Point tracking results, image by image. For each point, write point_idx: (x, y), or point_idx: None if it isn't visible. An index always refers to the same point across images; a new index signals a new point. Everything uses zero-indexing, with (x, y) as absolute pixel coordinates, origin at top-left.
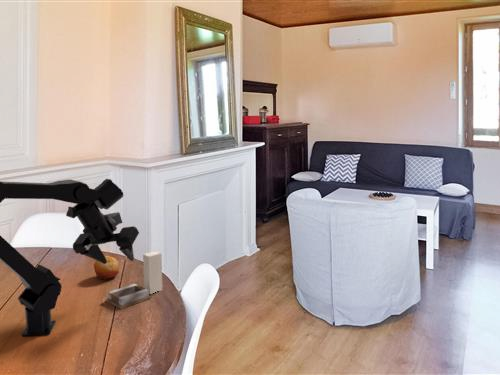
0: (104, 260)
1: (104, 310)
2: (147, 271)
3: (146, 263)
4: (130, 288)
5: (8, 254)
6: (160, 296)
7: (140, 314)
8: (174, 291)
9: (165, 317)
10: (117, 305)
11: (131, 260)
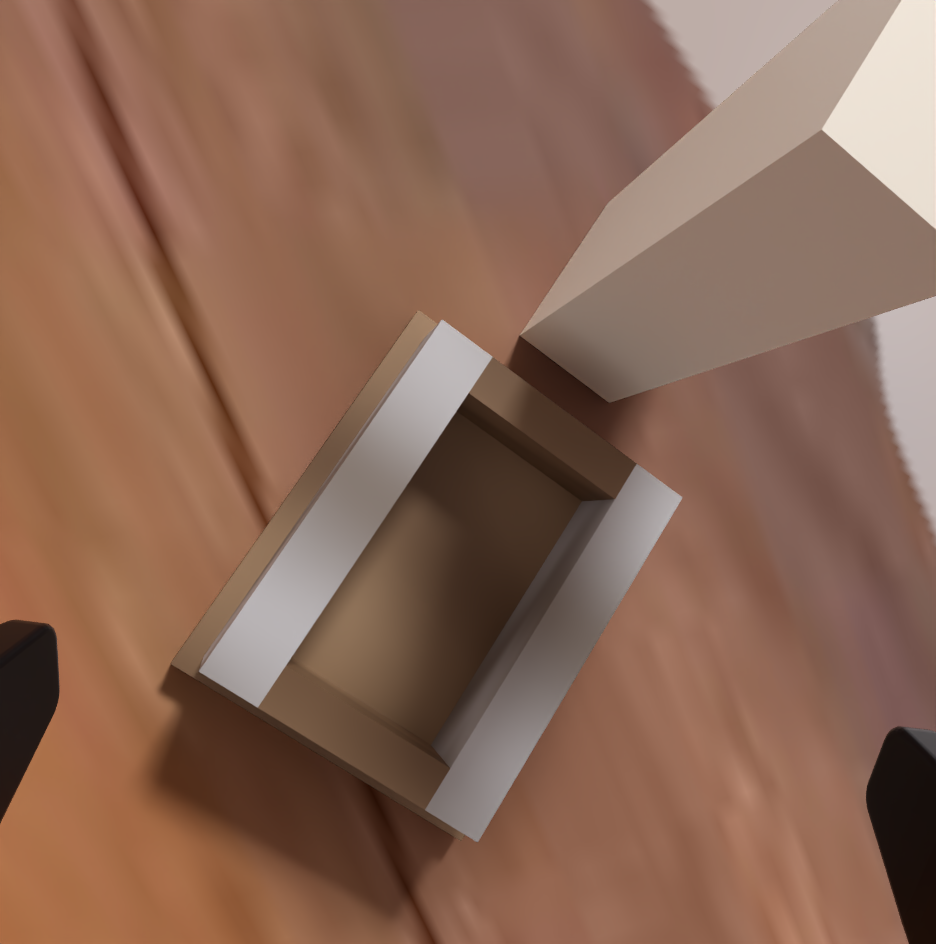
0: (8, 742)
1: (286, 919)
2: (729, 319)
3: (793, 266)
4: (425, 452)
5: None
6: (728, 427)
7: (700, 886)
8: None
9: None
10: (400, 802)
11: (889, 828)
